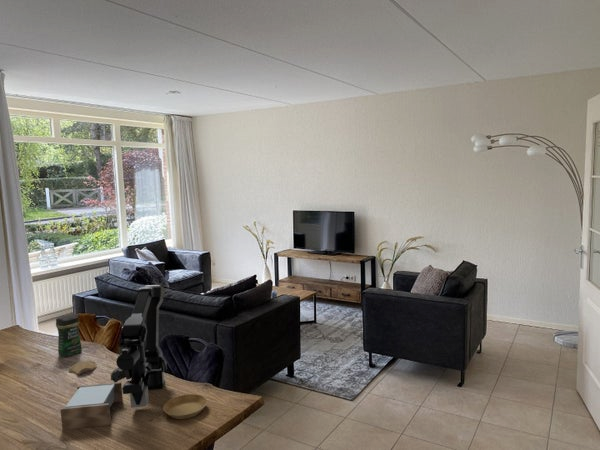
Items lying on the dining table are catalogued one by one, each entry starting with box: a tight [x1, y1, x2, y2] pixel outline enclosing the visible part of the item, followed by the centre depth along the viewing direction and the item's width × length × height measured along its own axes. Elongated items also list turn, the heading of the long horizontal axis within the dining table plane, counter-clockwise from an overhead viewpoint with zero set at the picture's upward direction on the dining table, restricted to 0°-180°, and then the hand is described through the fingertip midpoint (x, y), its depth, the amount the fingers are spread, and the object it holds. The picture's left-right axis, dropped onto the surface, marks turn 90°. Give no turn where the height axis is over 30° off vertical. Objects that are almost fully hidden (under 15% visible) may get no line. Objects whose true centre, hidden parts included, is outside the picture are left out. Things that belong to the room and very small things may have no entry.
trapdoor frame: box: [60, 381, 124, 431], centre depth 161 cm, size 15×17×7 cm
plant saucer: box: [162, 393, 208, 420], centre depth 161 cm, size 15×15×3 cm
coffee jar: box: [55, 313, 83, 358], centre depth 217 cm, size 10×8×19 cm
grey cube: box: [129, 386, 150, 409], centre depth 163 cm, size 5×5×5 cm
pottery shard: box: [68, 360, 97, 376], centre depth 198 cm, size 11×4×10 cm
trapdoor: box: [64, 384, 115, 408], centre depth 161 cm, size 12×14×5 cm
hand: (139, 400), depth 163 cm, fingers closed on grey cube, 5 cm apart
